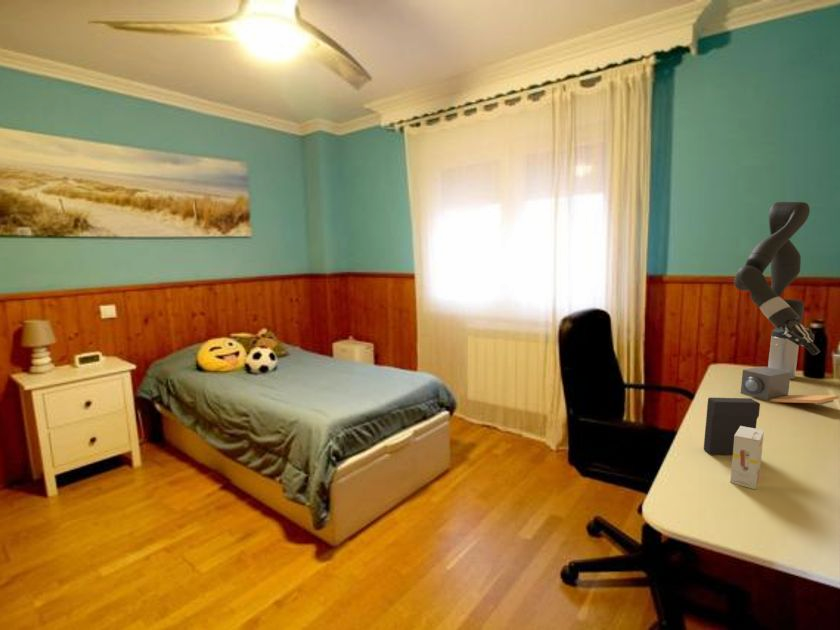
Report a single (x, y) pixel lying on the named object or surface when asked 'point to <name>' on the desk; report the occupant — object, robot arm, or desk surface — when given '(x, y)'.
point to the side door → (807, 399)
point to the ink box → (747, 456)
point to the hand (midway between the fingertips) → (816, 353)
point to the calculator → (727, 422)
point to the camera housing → (765, 383)
